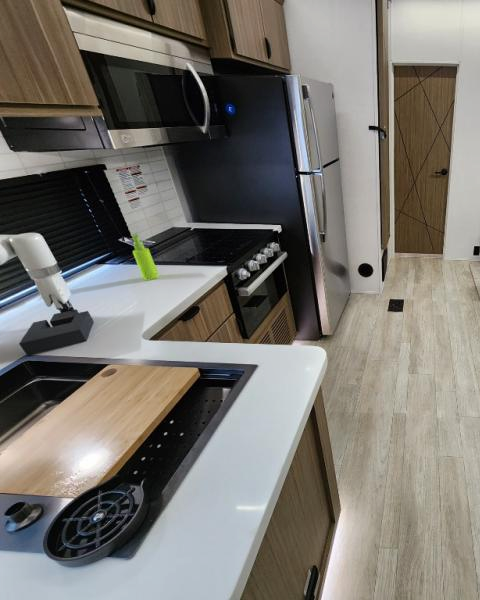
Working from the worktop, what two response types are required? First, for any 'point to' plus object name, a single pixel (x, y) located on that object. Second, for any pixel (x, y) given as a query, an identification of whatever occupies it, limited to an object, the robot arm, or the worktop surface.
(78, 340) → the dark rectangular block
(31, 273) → the robot arm
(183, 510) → the worktop surface
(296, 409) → the worktop surface
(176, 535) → the worktop surface
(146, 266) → the soap dispenser
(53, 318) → the dark grey squat block
